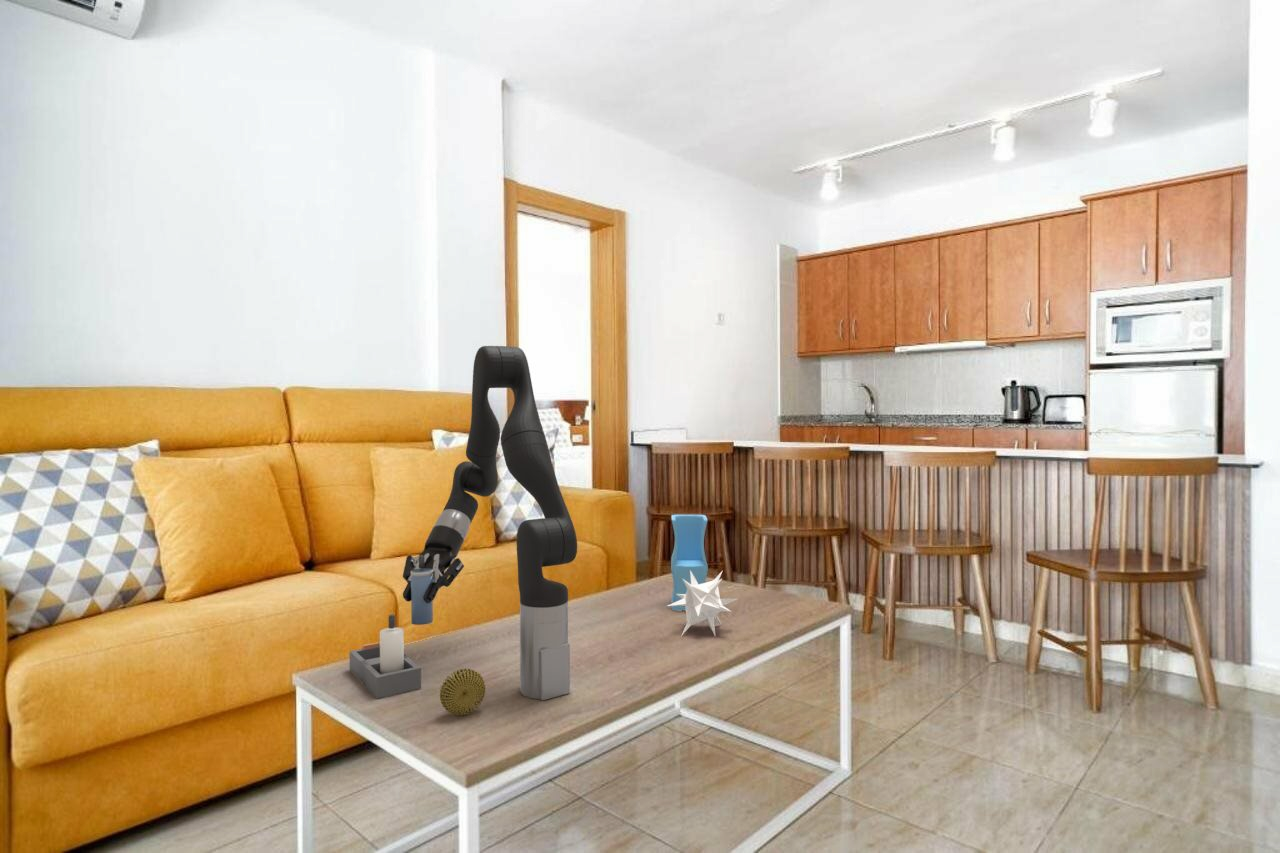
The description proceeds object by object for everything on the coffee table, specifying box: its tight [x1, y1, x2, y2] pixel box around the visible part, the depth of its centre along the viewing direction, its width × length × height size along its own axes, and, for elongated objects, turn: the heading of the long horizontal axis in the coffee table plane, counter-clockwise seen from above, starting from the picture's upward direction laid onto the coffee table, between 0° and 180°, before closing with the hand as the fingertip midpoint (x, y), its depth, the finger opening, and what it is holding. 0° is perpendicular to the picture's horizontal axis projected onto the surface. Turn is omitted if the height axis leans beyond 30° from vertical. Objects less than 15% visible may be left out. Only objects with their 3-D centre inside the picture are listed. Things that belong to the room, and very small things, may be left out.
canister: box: [410, 555, 434, 626], centre depth 151 cm, size 4×4×14 cm
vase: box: [670, 514, 709, 611], centre depth 197 cm, size 10×10×25 cm
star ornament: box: [667, 569, 738, 637], centre depth 175 cm, size 20×14×14 cm
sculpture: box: [439, 668, 486, 716], centre depth 126 cm, size 8×4×8 cm, turn 118°
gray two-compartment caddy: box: [349, 613, 422, 700], centre depth 143 cm, size 19×8×14 cm, turn 37°
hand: (416, 600), depth 149 cm, fingers closed on canister, 4 cm apart
